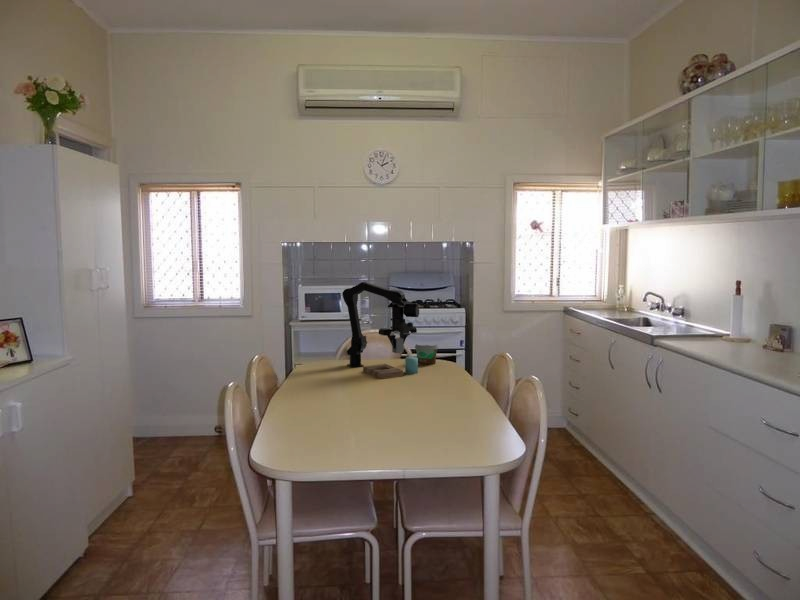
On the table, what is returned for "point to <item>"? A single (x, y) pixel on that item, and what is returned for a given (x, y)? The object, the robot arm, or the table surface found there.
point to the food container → (426, 354)
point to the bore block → (383, 371)
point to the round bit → (411, 365)
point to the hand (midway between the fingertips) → (397, 348)
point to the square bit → (398, 345)
